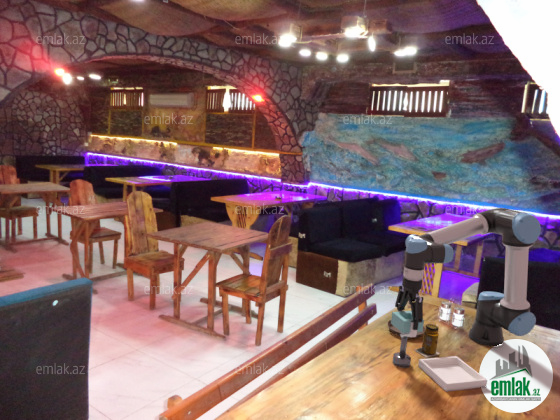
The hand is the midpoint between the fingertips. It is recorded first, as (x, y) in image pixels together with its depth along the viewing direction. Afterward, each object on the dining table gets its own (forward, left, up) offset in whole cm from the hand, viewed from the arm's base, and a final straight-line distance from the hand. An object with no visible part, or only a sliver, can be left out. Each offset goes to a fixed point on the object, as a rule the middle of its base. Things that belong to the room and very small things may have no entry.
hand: (406, 331), depth 180 cm
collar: (0, 0, +2) cm, 2 cm away
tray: (-15, +12, -14) cm, 24 cm away
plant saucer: (-18, -27, -15) cm, 36 cm away
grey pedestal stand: (0, 0, -14) cm, 14 cm away
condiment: (-17, -7, -14) cm, 23 cm away
